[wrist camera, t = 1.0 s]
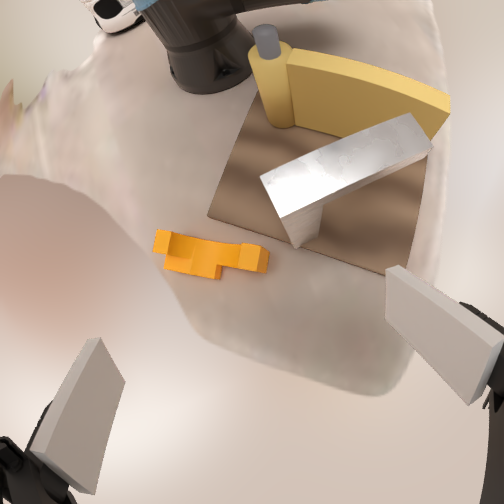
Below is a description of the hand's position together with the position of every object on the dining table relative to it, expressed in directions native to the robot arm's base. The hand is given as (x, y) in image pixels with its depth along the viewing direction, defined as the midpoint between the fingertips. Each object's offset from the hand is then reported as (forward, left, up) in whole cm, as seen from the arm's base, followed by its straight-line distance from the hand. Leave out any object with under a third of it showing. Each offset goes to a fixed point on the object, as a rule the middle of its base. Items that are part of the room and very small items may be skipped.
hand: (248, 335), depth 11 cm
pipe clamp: (-2, -10, -22) cm, 24 cm away
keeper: (-11, +2, -22) cm, 25 cm away
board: (-18, 0, -22) cm, 28 cm away
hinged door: (-23, 0, -20) cm, 30 cm away
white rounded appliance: (-53, -57, -22) cm, 80 cm away
